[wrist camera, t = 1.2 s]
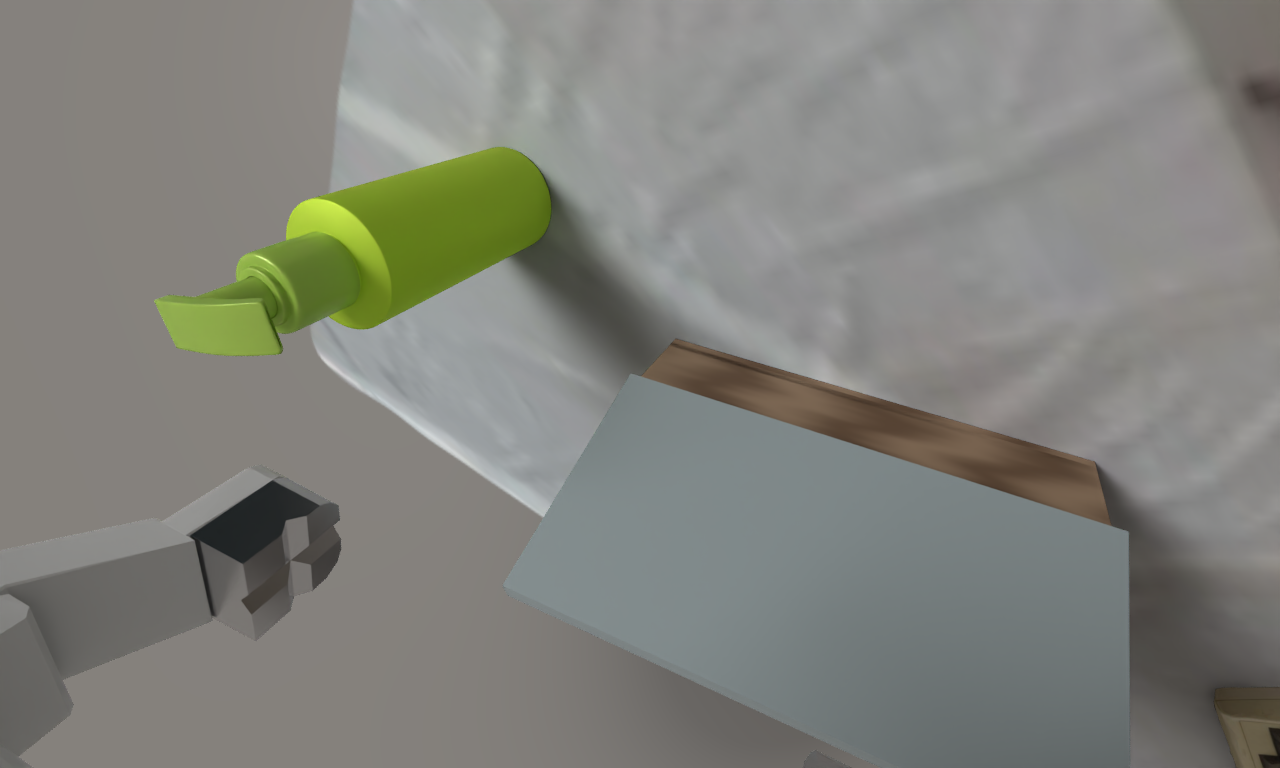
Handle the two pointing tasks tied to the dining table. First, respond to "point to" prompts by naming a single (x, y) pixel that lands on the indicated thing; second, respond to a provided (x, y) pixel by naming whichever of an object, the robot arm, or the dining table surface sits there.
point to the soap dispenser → (370, 253)
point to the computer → (1251, 724)
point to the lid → (841, 588)
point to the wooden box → (888, 428)
